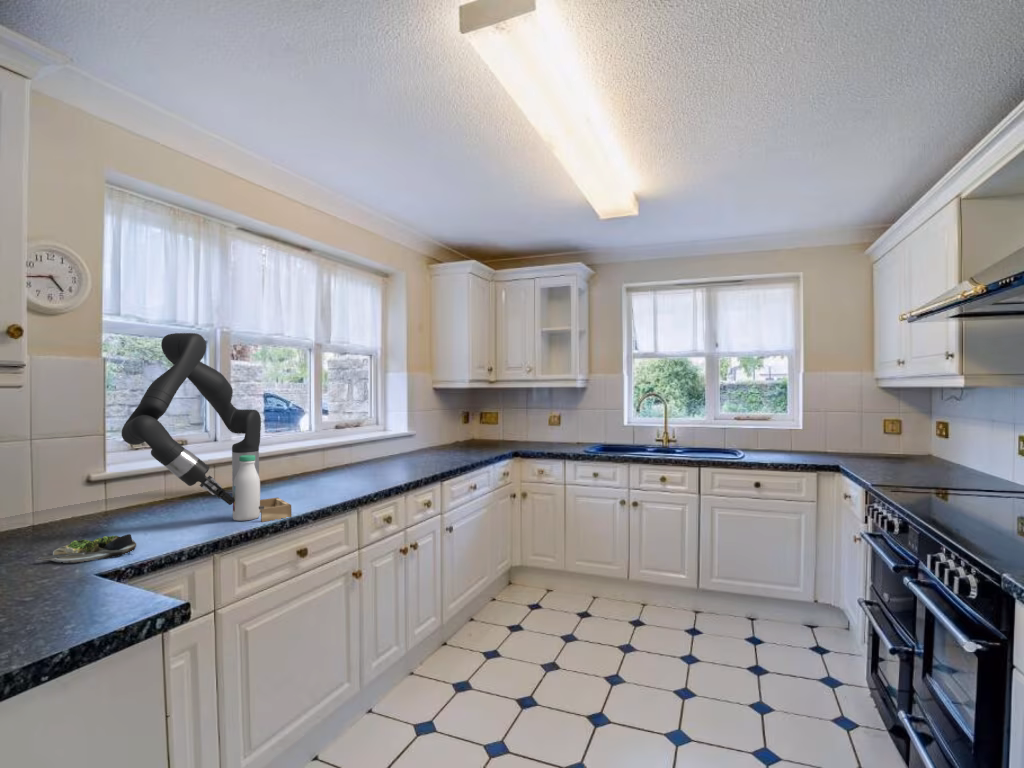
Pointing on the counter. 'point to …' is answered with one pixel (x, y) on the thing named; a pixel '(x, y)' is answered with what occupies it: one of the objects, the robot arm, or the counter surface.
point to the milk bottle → (246, 490)
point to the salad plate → (92, 549)
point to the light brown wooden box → (274, 509)
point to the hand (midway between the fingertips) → (232, 502)
